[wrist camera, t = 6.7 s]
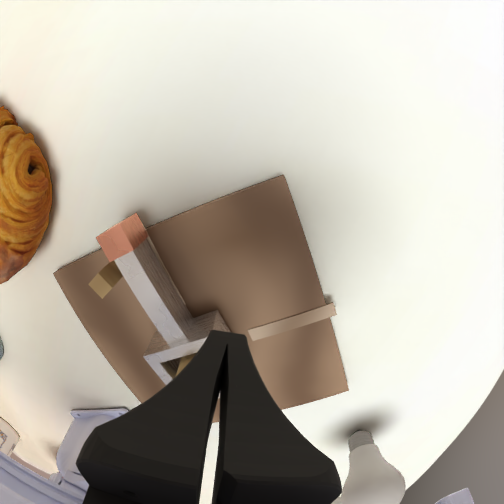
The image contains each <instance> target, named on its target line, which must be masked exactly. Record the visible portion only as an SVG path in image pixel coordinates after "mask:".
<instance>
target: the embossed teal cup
mask: <svg viewBox="0 0 504 504" xmlns="http://www.w3.org/2000/svg"><path fill="white" fill-rule="evenodd" d="M3 351H4V349H3V343H2V340H1V337H0V360H1V358H2V356H3V353H4V352H3Z"/></svg>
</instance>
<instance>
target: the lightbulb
mask: <svg viewBox="0 0 504 504" xmlns="http://www.w3.org/2000/svg"><path fill="white" fill-rule="evenodd" d="M348 442H349V448H350V454H349V461H350V469H349V474H348V477H347V479H346V481H345V484H344V487H343V490H342V495H341V499H342V504H399V503H400V502H401V500H402V498H403V496H404V493H405V480H404V477H403V476H402V474H401V473H400V471H398V470H397V469H396V468H395V467H394V466H392V465H391V464H389V463H388V462H387V461H386V460H385V459H384V458H383V457H382V455H381V453H380V451H379V448H378V447H377V445H375V444H374V440H373V438H372V436H371V433H370V432H368V431H361V430H360V431H356V432H355V433H354V434H353V435H351V436H350V438H349V439H348Z"/></svg>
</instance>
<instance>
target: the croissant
mask: <svg viewBox="0 0 504 504" xmlns="http://www.w3.org/2000/svg"><path fill="white" fill-rule="evenodd" d="M51 205H52V183H51V179H50V172H49V168H48V165H47V161H46V160H45V158H44V157H43V155H42V153H41V150H40V148H39V147H38V146H37V145H36V144H35V143H34V136H33V134H32V133H28V134H26V133H25V132H24V131H23V130H22V128H21V127H19V126H18V123H17V122H16V120H15V118H14V115H12V114H11V113H10V112H8V109H4V106H2V107H0V284H2V283H4V282H6V281H8V280H9V279H10V278H11V277H12V276H14V275H15V274H16V273H17V272H18V271H20V270H21V269H22V268H23V267H25V266H26V265H27V264H28V263H29V261H30V260H31V258H32V257H33V255H34V254H35V253H36V249H37V248H38V246H39V244H40V242H41V240H42V237H43V234H44V232H45V230H46V229H47V226H48V224H49V212H50V209H51Z"/></svg>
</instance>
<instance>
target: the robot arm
mask: <svg viewBox="0 0 504 504" xmlns="http://www.w3.org/2000/svg"><path fill="white" fill-rule="evenodd" d="M219 393H220V414H219V446H218V455H217V463H216V471H215V480H214V488H213V496H212V504H331V503H332V502H333V501H334V500H336V499H337V498H338V496H339V495H340V494H341V493H342V486H341V481H340V477H339V474H338V472H337V469H336V466H335V464H334V462H333V461H332V460H331V459H330V458H328V457H327V456H326V455H324V454H323V453H322V452H321V451H319V450H318V449H317V448H316V447H314V446H313V445H312V444H311V443H310V442H309V441H308V440H307V439H306V438H305V437H304V436H303V435H302V434H301V433H300V432H299V431H298V430H297V429H296V428H295V427H294V425H293V424H292V423H291V422H290V421H289V420H288V419H287V417H286V416H285V415H284V414H283V412H282V411H281V410H280V408H279V407H278V405H277V404H276V402H275V401H274V399H273V398H272V396H271V395H270V393H269V391H268V390H267V388H266V386H265V384H264V382H263V380H262V378H261V376H260V374H259V372H258V370H257V368H256V365H255V363H254V360H253V358H252V355H251V352H250V349H249V345H248V341H247V337H246V336H245V335H244V334H238V333H231V332H225V331H218V330H212V331H210V333H209V335H208V337H207V339H206V340H205V342H204V343H203V345H202V346H201V348H200V349H199V351H198V352H197V353H196V354H195V356H194V357H193V358H192V359H191V361H190V362H189V363H188V364H187V365H186V366H185V367H184V368H183V370H182V371H181V372H180V373H179V374H178V375H177V376H176V377H175V378H174V379H173V380H172V381H170V382H169V383H168V384H167V385H166V386H165V387H164V388H162V389H161V390H160V391H159V392H157V393H156V394H155V395H153V396H152V397H151V398H149V399H148V400H146V401H145V402H143V403H142V404H140V405H139V406H137V407H135V408H134V409H132V410H130V411H128V410H127V409H124V408H121V409H104V410H72V411H71V412H70V413H71V415H72V416H73V417H74V420H73V422H72V424H71V426H70V428H69V430H68V432H67V434H66V435H65V437H64V439H63V441H62V443H61V445H60V447H59V449H58V452H57V457H56V461H57V467H58V470H59V472H60V473H59V472H57V473H53V474H51V476H50V477H49V479H46V478H44V477H42V476H41V475H39V474H37V473H35V472H33V471H31V470H30V469H28V468H26V467H25V466H23V465H21V464H20V463H18V462H17V461H15V460H13V459H12V458H10V457H9V456H7V455H6V454H4V453H3V452H1V451H0V504H199V499H200V492H201V484H202V477H203V469H204V462H205V455H206V448H207V442H208V437H209V433H210V429H211V425H212V421H213V417H214V413H215V409H216V405H217V401H218V397H219ZM62 477H63V478H62ZM435 504H475V503H474V501H473V498H472V496H471V494H470V491H469V489H468V488H464V489H462V490H460V491H457V492H455V493H452V494H450V495H448V496H446V497H444V498H442V499H441V500H439V501H438V502H436V503H435Z"/></svg>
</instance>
